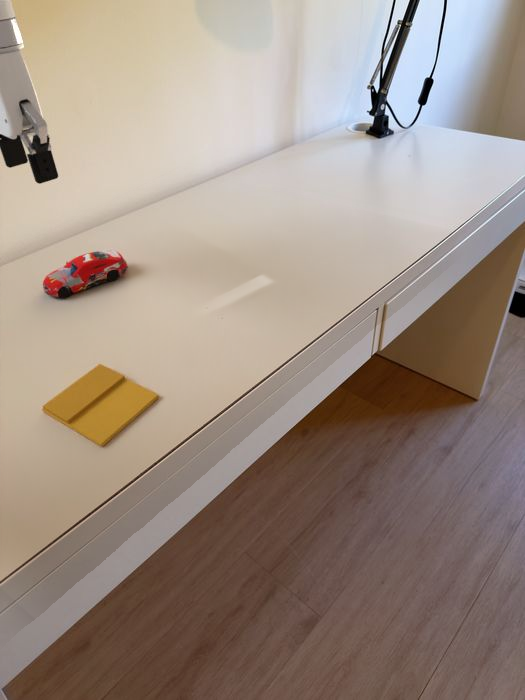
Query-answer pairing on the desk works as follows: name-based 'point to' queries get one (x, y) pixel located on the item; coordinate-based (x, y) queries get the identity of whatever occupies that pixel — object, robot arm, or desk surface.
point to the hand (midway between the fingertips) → (32, 172)
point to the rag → (100, 404)
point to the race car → (85, 273)
